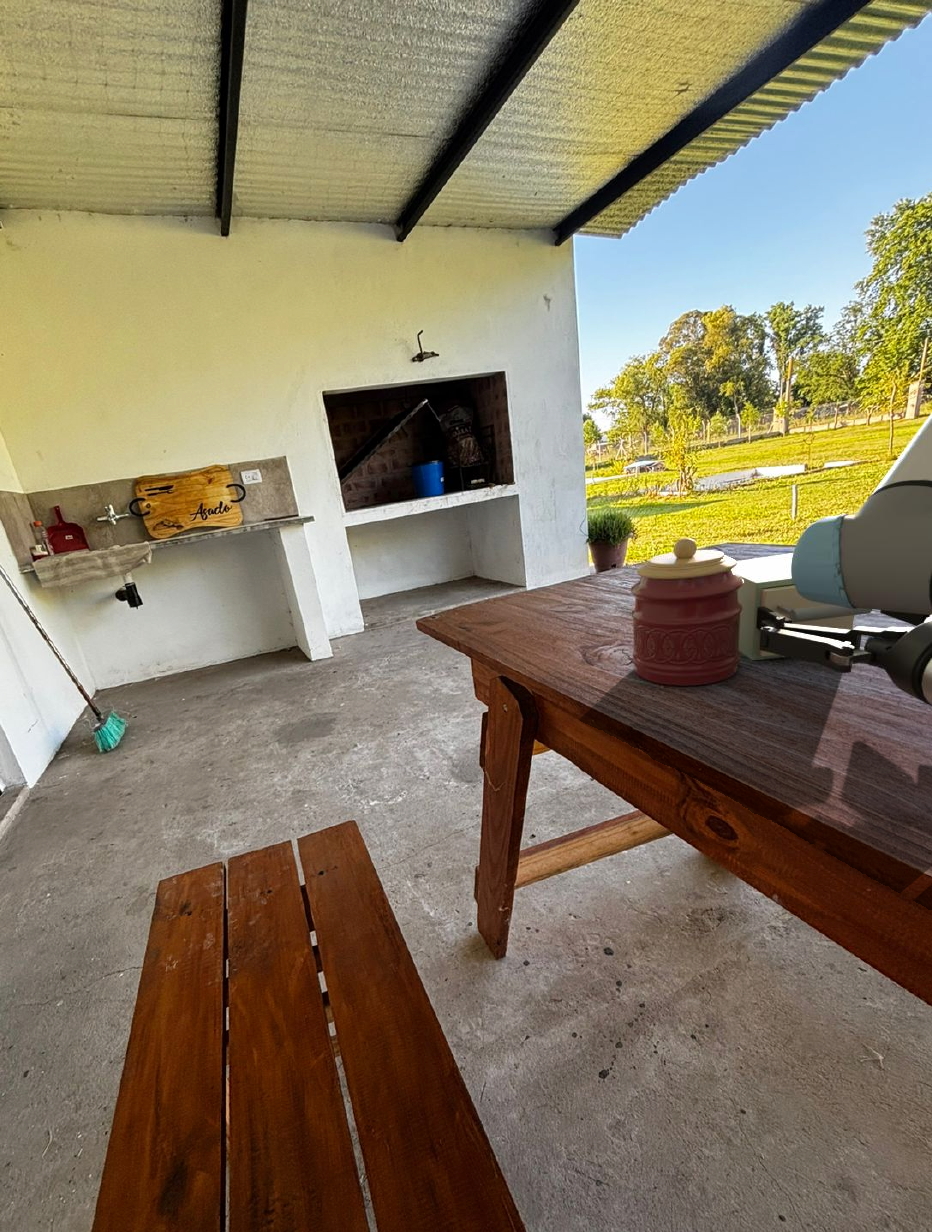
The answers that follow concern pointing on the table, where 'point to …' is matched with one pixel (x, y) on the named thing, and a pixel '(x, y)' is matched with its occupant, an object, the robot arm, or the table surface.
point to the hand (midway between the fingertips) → (821, 609)
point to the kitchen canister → (687, 617)
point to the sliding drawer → (806, 610)
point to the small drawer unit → (758, 595)
